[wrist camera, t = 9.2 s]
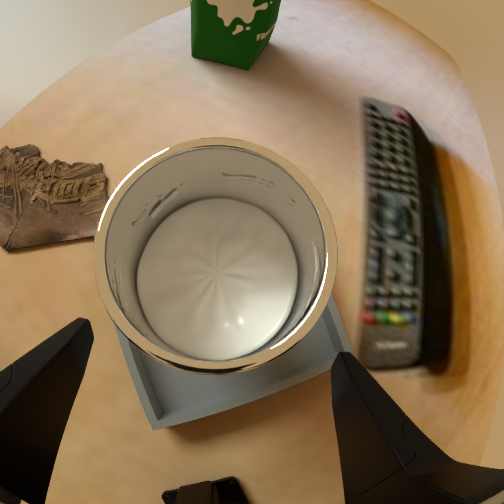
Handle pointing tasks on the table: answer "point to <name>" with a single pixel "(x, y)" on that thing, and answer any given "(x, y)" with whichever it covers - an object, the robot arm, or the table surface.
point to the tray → (231, 375)
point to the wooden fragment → (47, 198)
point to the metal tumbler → (215, 256)
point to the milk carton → (232, 29)
